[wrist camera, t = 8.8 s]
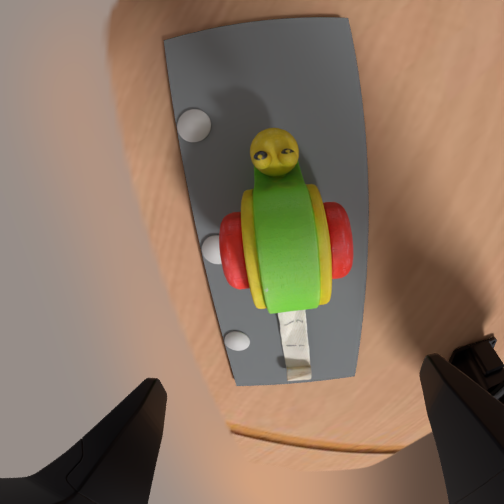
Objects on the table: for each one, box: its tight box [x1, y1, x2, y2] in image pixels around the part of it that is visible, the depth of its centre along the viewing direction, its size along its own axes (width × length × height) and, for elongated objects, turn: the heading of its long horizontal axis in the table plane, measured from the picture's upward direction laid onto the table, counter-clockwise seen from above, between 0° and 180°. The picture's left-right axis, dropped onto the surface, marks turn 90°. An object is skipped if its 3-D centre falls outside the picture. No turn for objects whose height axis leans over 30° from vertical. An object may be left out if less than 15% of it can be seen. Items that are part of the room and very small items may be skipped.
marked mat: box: [164, 17, 369, 386], centre depth 19 cm, size 28×11×1 cm, turn 8°
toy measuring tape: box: [219, 128, 353, 381], centre depth 16 cm, size 6×20×7 cm, turn 8°
